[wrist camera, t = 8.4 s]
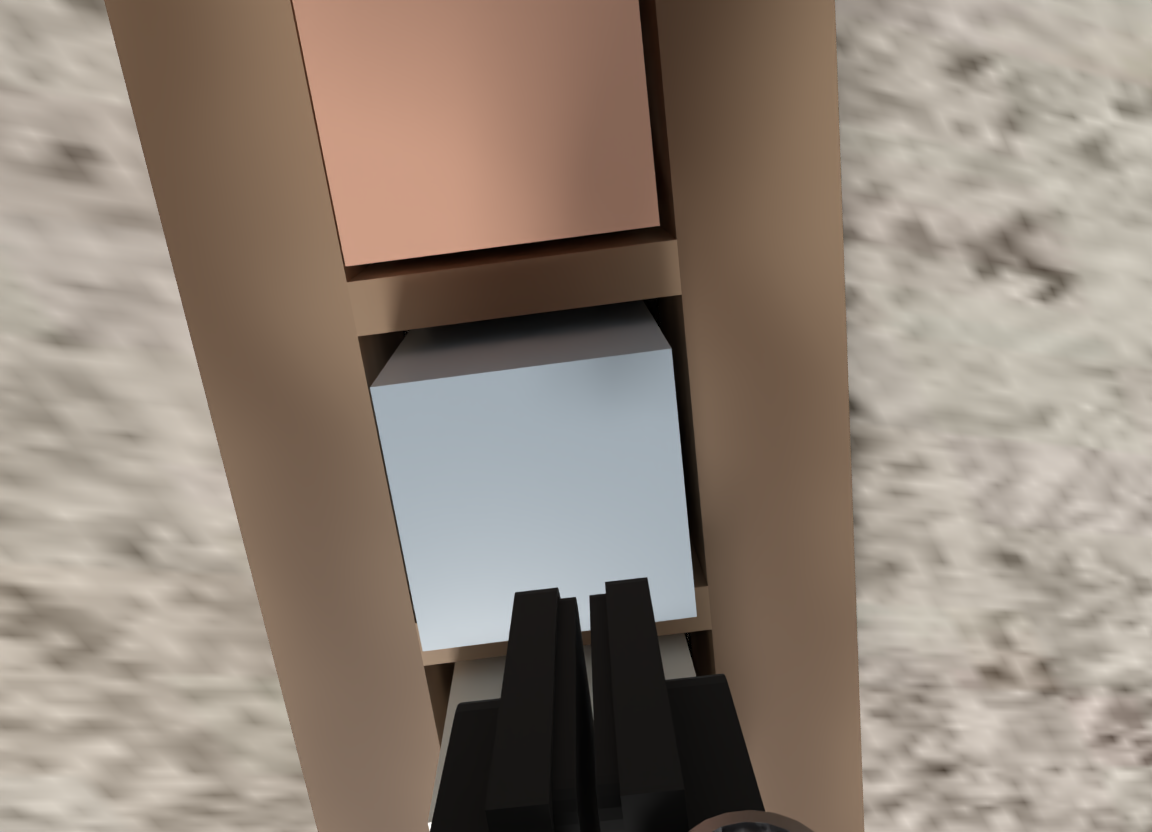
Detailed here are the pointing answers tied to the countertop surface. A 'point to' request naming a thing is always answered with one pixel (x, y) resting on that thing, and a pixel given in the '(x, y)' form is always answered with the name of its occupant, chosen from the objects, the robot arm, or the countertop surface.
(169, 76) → the wooden compartment tray
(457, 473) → the key slate
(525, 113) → the peach cube
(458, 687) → the key cream
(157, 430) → the countertop surface
